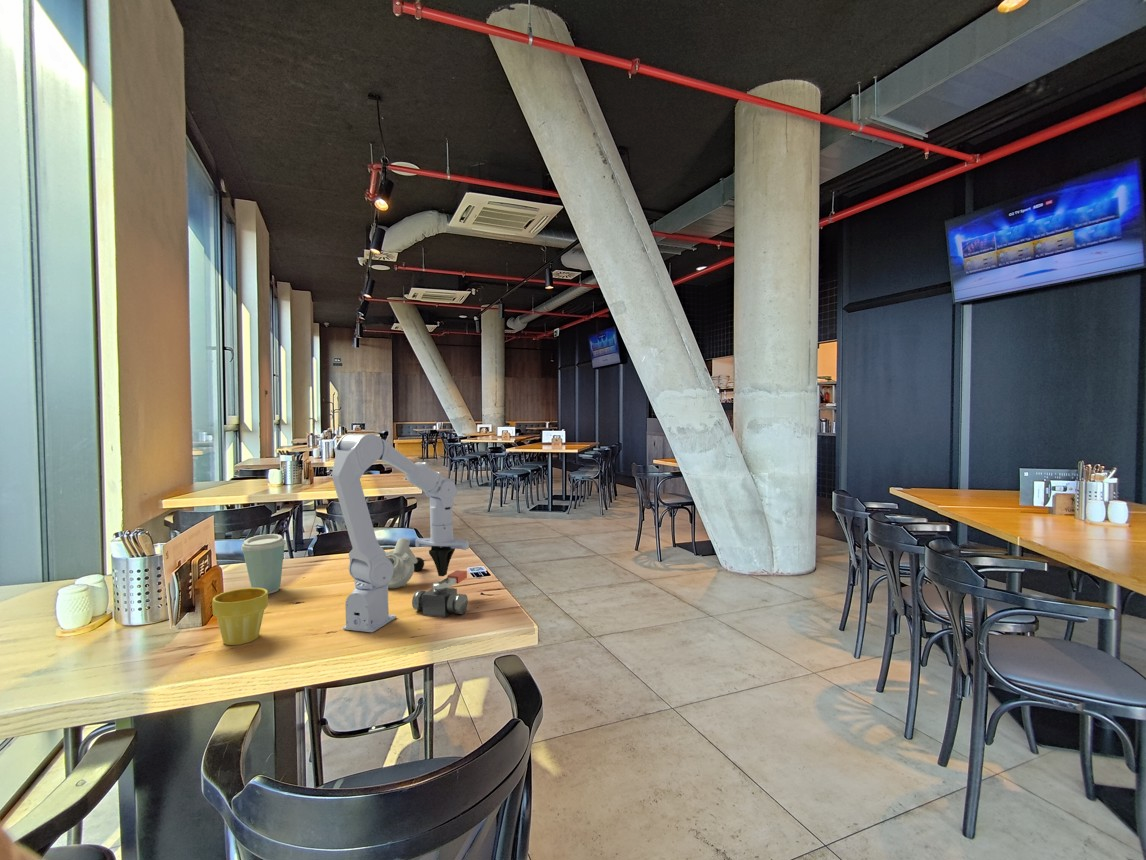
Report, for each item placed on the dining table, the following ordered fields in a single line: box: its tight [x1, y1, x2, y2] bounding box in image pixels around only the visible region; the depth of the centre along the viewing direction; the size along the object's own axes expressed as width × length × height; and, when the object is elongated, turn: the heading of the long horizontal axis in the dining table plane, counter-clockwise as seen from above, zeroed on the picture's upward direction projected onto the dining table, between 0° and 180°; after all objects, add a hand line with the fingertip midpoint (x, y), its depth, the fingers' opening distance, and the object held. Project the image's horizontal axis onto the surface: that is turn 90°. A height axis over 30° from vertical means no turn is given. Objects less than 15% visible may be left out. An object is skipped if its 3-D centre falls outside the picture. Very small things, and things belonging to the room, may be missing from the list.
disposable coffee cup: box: [240, 533, 286, 595], centre depth 150 cm, size 11×11×15 cm
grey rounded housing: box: [385, 537, 425, 589], centre depth 160 cm, size 10×20×15 cm
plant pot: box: [211, 587, 269, 646], centre depth 118 cm, size 10×10×10 cm
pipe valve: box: [411, 587, 469, 618], centre depth 133 cm, size 6×13×5 cm, turn 74°
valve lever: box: [432, 569, 468, 592], centre depth 138 cm, size 13×3×2 cm, turn 164°
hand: (442, 575), depth 142 cm, fingers closed
